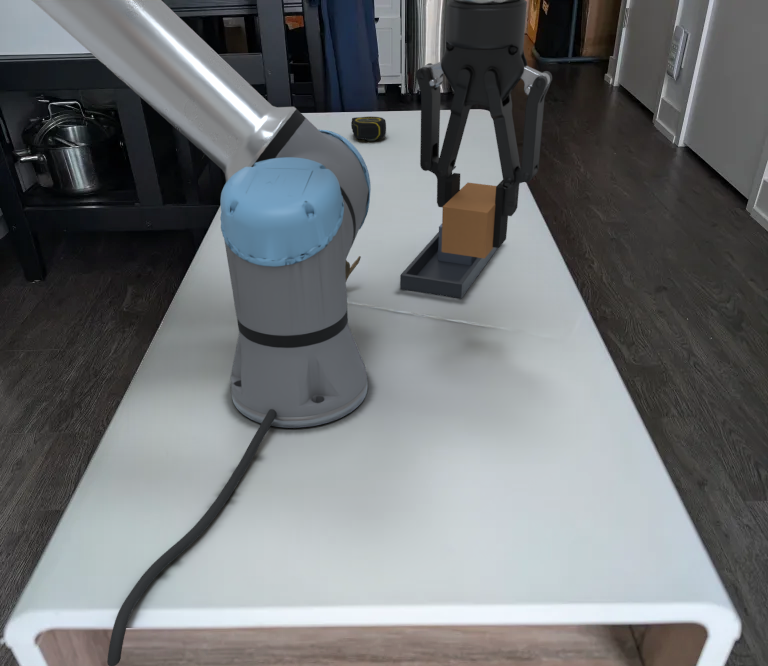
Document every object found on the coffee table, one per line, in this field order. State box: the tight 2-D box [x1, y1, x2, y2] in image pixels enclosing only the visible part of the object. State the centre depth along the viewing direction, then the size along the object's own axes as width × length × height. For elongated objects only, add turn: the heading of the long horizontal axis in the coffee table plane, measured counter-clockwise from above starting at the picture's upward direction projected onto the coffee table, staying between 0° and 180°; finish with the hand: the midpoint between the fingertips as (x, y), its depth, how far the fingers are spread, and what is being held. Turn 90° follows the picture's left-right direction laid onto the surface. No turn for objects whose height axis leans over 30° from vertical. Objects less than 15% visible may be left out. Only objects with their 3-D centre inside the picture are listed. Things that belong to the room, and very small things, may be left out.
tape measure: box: [350, 116, 387, 142], centre depth 161 cm, size 7×7×4 cm
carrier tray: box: [399, 231, 499, 300], centre depth 113 cm, size 20×9×2 cm, turn 158°
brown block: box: [441, 182, 509, 258], centre depth 88 cm, size 8×5×5 cm, turn 156°
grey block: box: [438, 223, 477, 265], centre depth 115 cm, size 8×5×5 cm, turn 158°
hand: (475, 239), depth 89 cm, fingers closed on brown block, 5 cm apart
